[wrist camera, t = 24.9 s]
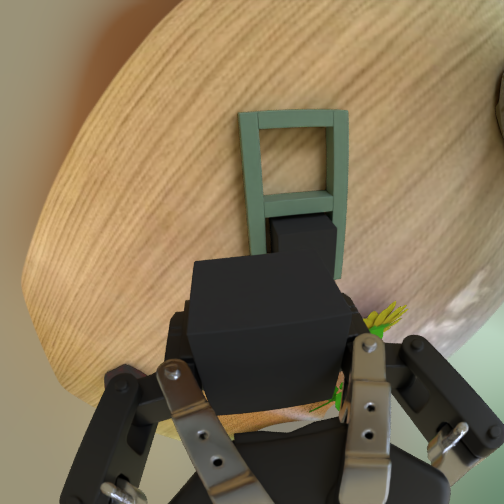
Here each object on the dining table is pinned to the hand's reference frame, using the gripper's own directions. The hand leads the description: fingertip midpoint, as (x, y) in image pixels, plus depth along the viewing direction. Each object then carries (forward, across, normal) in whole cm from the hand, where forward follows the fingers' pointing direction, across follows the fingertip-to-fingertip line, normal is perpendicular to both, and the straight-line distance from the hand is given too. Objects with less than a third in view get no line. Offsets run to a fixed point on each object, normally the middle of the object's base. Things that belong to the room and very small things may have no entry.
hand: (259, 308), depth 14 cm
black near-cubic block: (+16, -6, +4) cm, 17 cm away
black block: (0, 0, 0) cm, 0 cm away
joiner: (+16, -5, 0) cm, 17 cm away
